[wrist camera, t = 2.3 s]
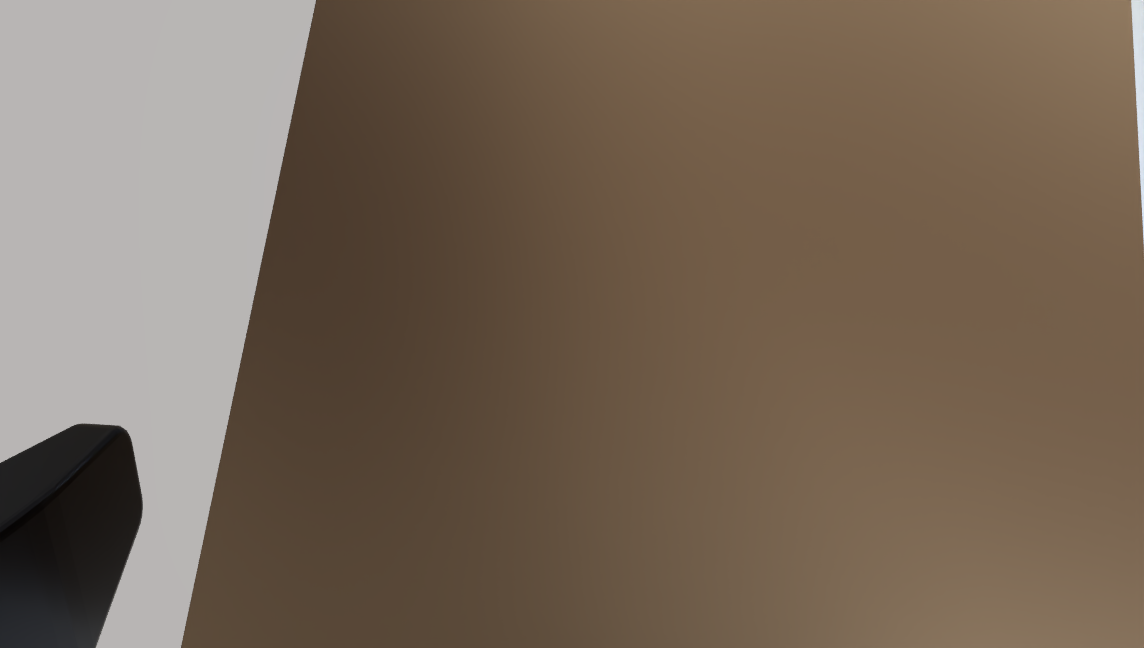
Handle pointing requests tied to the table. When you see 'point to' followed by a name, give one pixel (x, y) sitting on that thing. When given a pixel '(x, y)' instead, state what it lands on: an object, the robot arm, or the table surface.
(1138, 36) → the table surface
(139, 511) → the robot arm
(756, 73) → the brown wooden block
